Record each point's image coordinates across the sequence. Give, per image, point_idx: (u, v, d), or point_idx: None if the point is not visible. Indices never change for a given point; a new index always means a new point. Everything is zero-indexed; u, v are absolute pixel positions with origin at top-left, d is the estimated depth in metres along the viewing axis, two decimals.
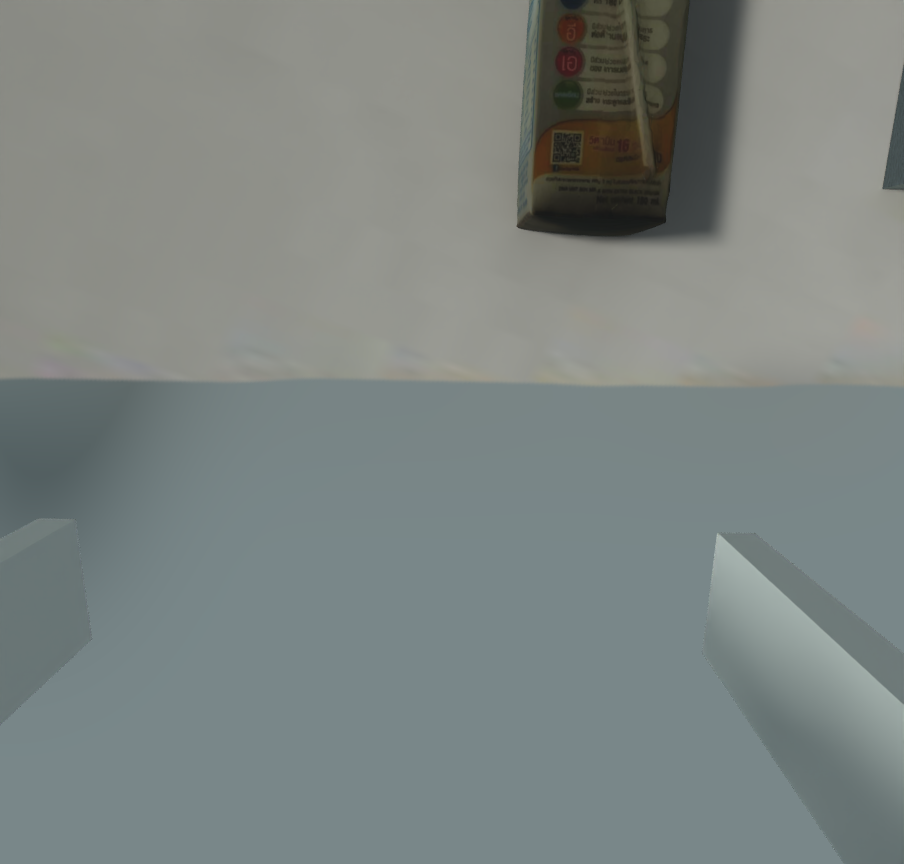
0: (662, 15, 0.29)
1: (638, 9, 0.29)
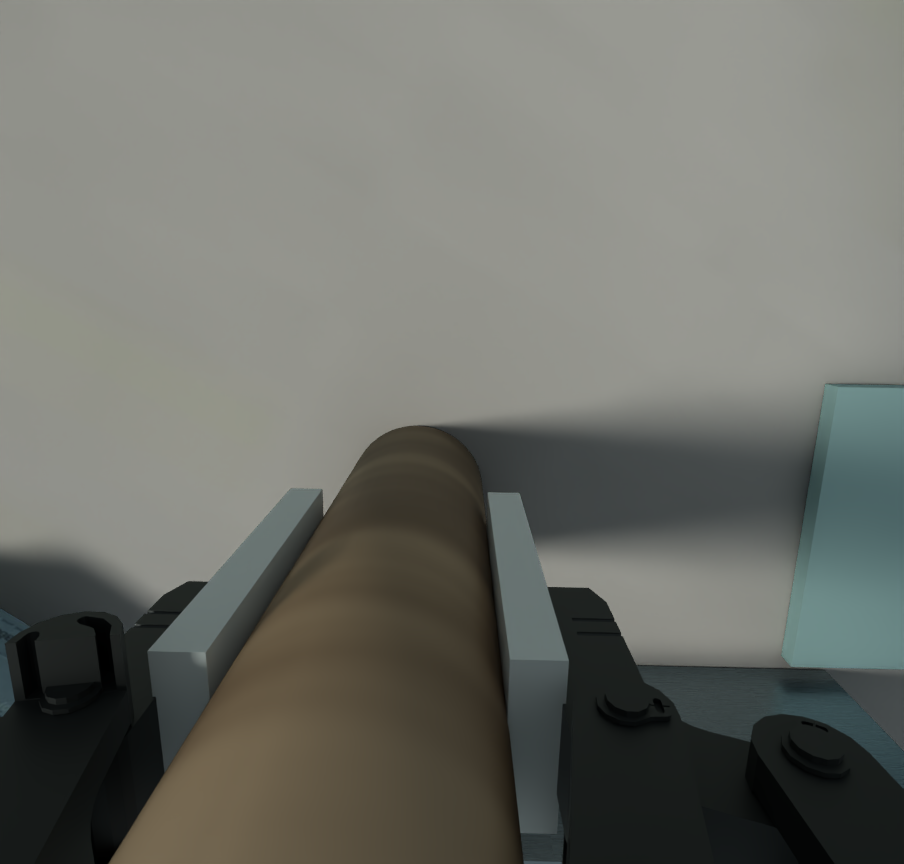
0: None
1: None
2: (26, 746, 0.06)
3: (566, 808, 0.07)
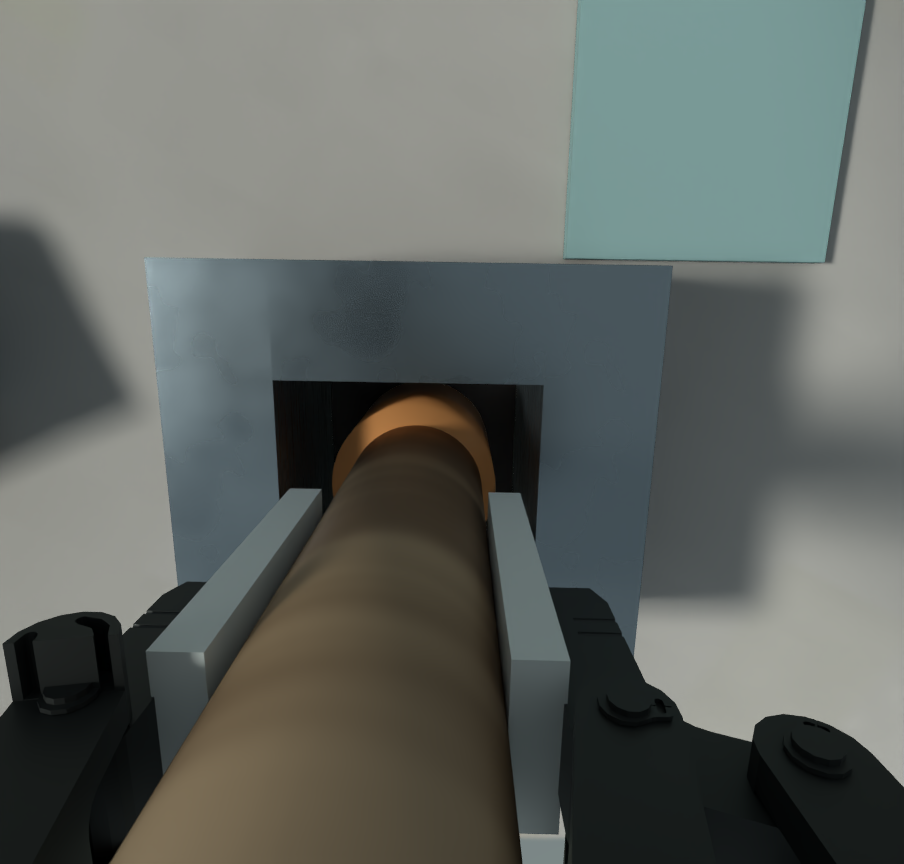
0: None
1: None
2: (24, 746, 0.06)
3: (568, 808, 0.07)
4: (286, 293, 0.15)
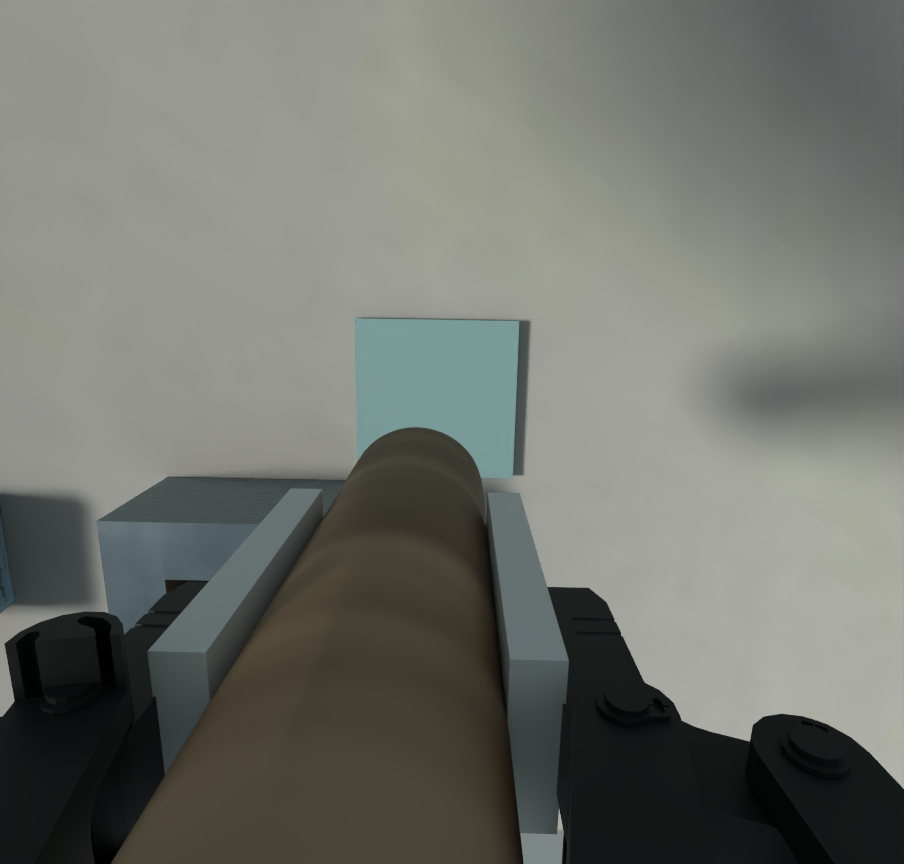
0: None
1: None
2: (26, 746, 0.06)
3: (566, 808, 0.07)
4: (170, 538, 0.28)
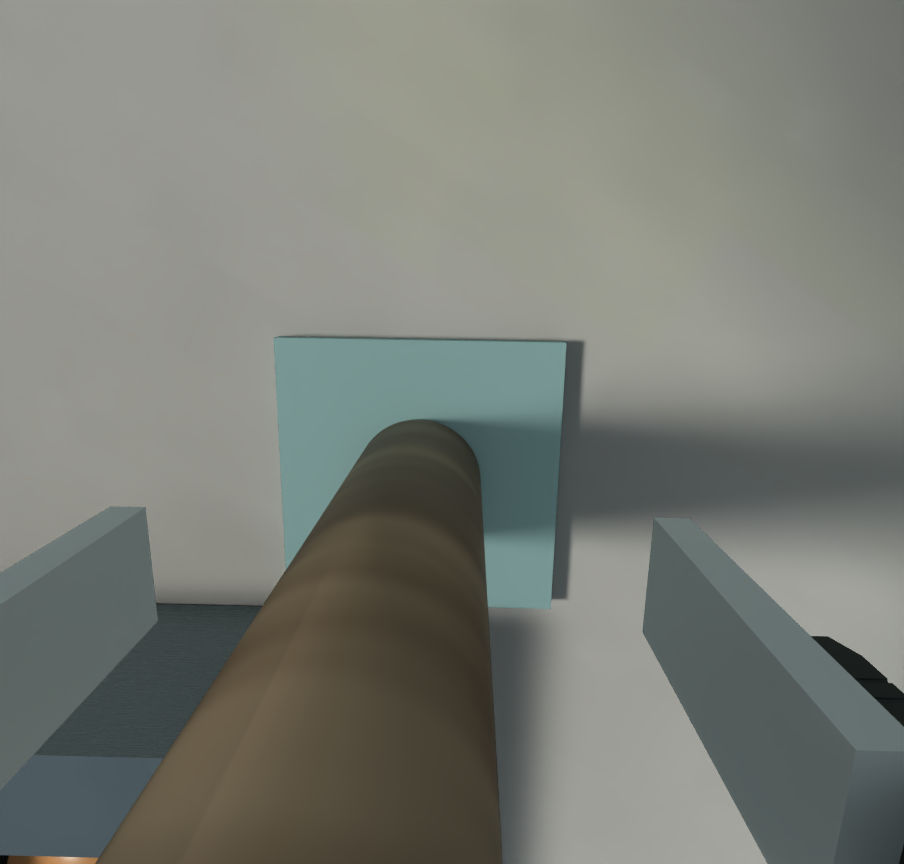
0: None
1: None
2: None
3: None
4: None
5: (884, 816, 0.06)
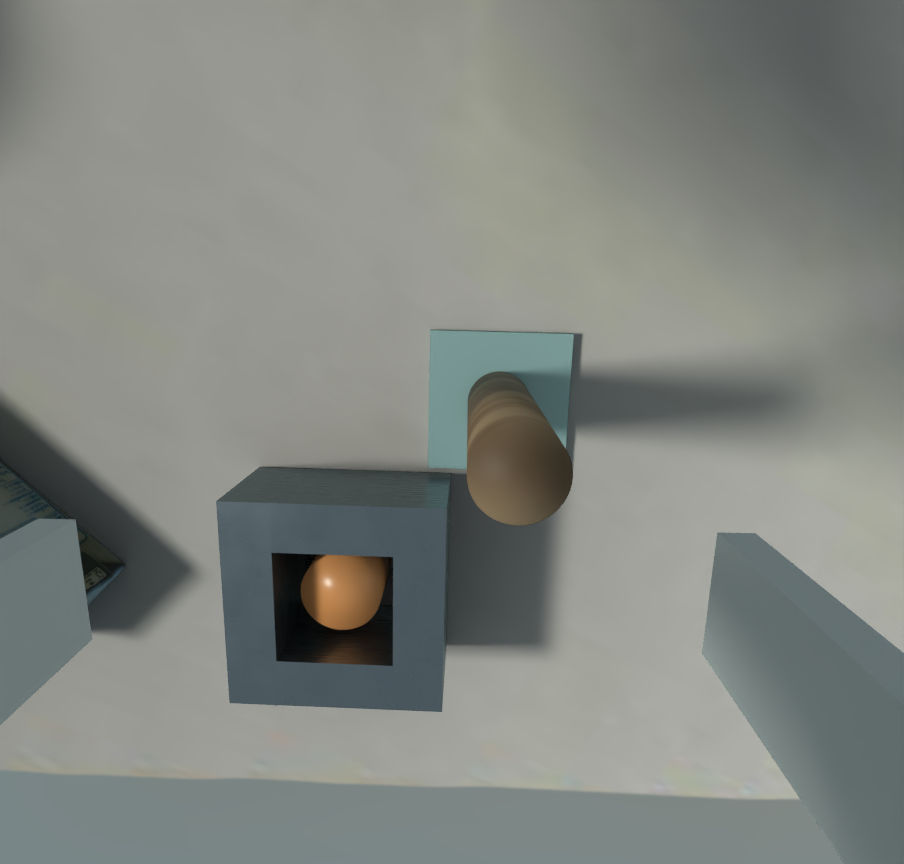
0: None
1: None
2: None
3: None
4: (278, 517, 0.33)
5: None
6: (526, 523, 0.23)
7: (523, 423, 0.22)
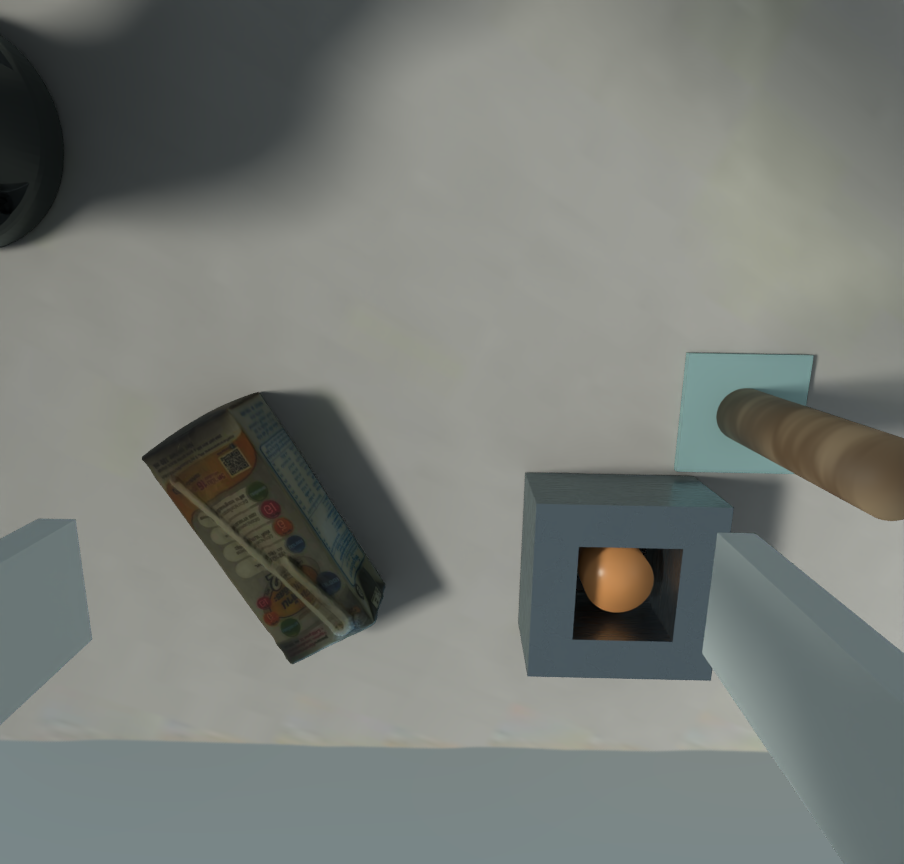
0: (237, 563, 0.41)
1: (253, 559, 0.41)
2: None
3: None
4: (588, 516, 0.39)
5: None
6: (896, 519, 0.29)
7: None
